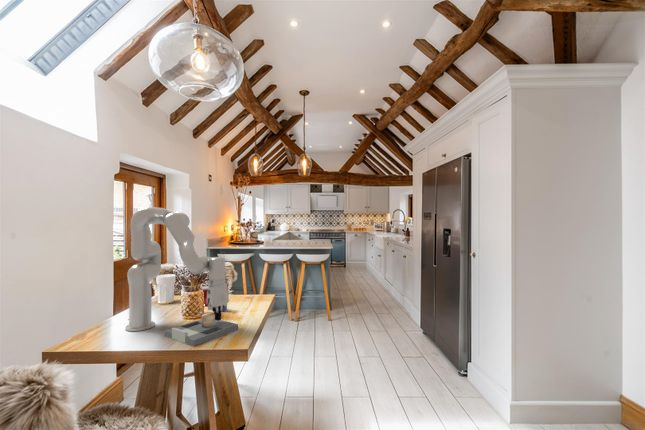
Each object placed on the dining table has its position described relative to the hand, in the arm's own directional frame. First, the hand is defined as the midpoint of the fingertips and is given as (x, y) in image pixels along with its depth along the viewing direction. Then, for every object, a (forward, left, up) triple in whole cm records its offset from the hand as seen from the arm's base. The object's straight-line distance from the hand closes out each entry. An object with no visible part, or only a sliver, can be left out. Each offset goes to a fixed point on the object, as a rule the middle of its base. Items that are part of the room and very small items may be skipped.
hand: (217, 319), depth 154 cm
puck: (0, -5, -1) cm, 6 cm away
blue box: (-23, +19, -4) cm, 30 cm away
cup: (-68, +12, -4) cm, 69 cm away
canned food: (-41, +23, -4) cm, 47 cm away
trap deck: (0, -9, -4) cm, 9 cm away
